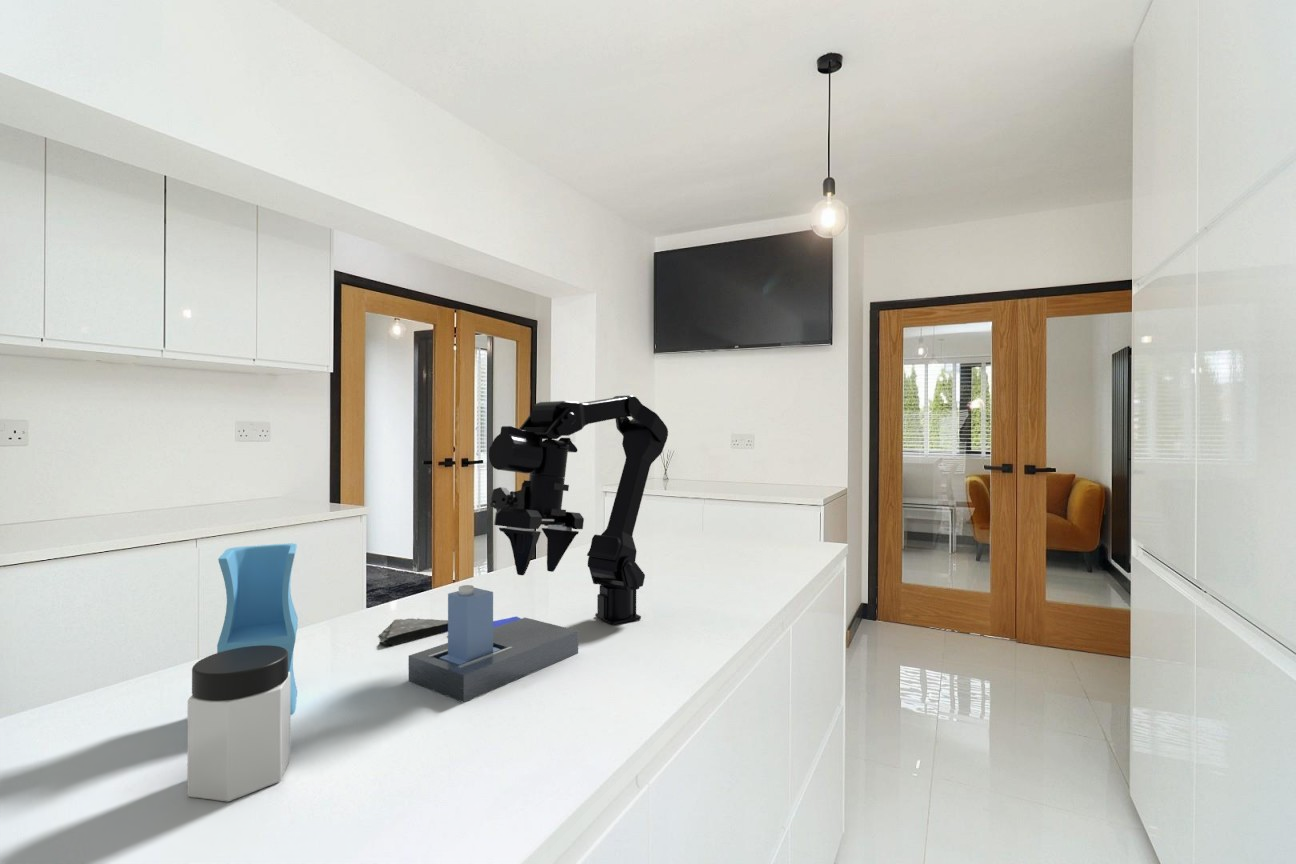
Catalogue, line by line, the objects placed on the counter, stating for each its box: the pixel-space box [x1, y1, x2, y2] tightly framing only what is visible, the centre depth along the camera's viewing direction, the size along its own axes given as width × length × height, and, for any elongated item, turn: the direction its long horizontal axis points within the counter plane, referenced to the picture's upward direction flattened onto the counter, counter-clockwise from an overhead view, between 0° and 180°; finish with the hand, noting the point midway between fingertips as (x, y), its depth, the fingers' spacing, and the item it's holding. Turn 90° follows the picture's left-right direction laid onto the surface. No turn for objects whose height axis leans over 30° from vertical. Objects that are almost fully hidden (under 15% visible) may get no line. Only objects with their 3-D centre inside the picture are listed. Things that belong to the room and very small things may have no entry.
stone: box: [378, 618, 448, 646], centre depth 108 cm, size 13×10×2 cm
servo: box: [439, 584, 501, 666], centre depth 88 cm, size 7×4×13 cm, turn 144°
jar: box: [186, 645, 291, 803], centre depth 62 cm, size 9×8×12 cm
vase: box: [216, 542, 299, 716], centre depth 77 cm, size 8×8×20 cm
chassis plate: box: [408, 617, 579, 703], centre depth 92 cm, size 22×12×4 cm, turn 145°
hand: (536, 573), depth 99 cm, fingers open, 9 cm apart
